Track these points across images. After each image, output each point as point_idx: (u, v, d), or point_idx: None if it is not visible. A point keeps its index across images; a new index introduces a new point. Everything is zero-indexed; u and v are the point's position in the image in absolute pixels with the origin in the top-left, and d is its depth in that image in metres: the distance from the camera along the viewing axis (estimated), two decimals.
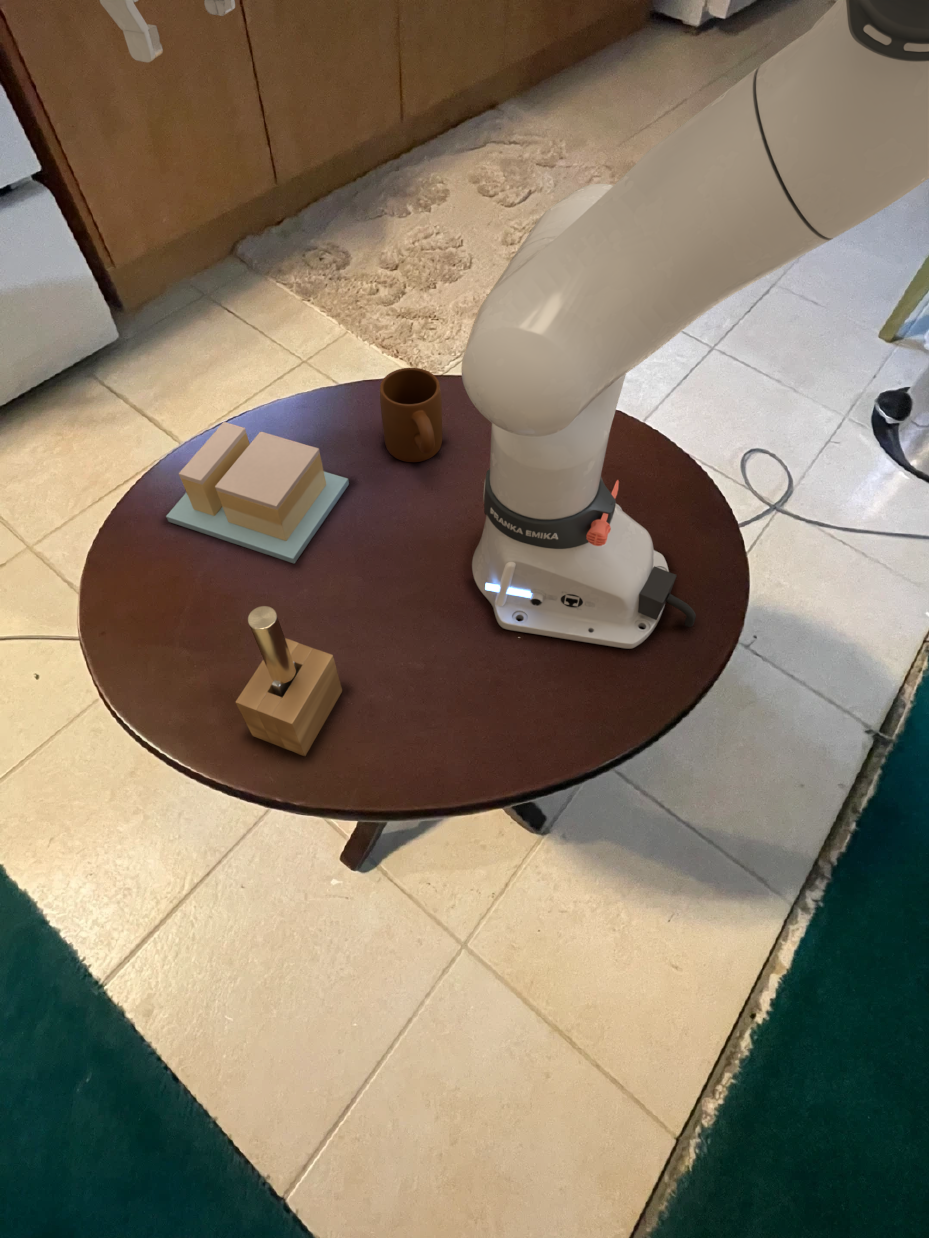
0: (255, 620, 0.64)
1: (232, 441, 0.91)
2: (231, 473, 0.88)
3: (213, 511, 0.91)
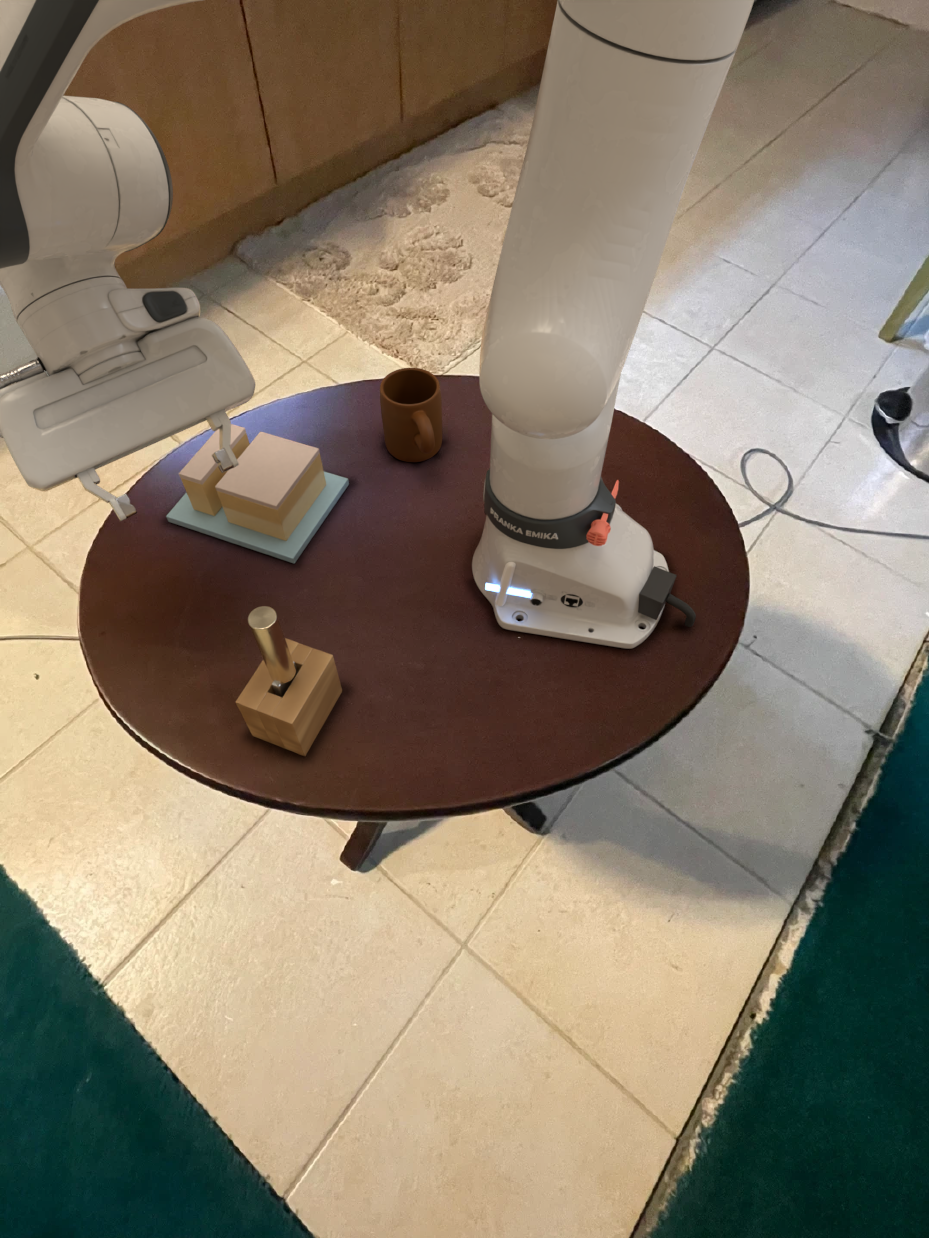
0: (255, 620, 0.64)
1: (232, 441, 0.91)
2: (231, 473, 0.88)
3: (213, 511, 0.91)
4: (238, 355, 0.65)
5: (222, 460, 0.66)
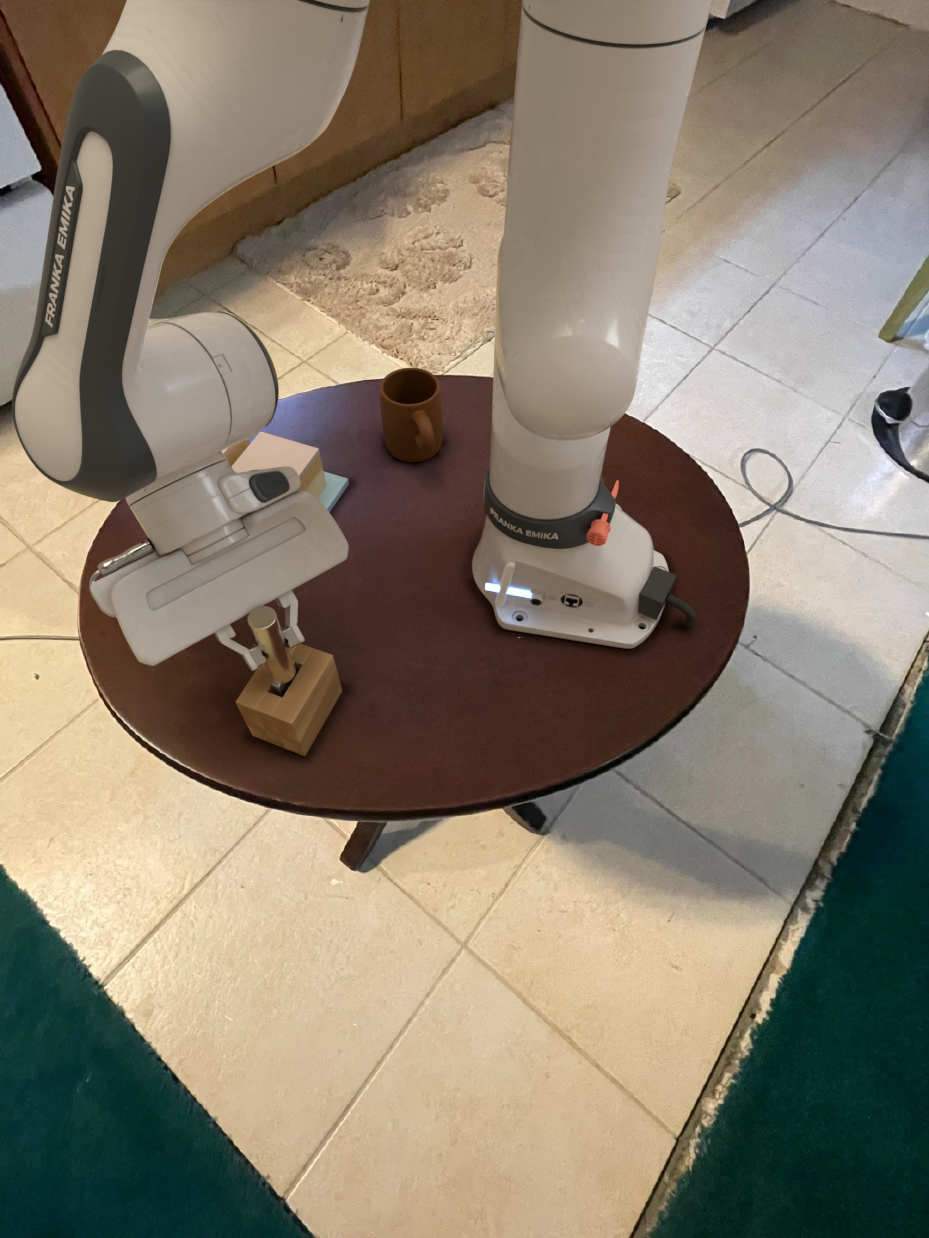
0: (255, 620, 0.64)
1: None
2: None
3: None
4: (334, 523, 0.67)
5: (289, 638, 0.67)
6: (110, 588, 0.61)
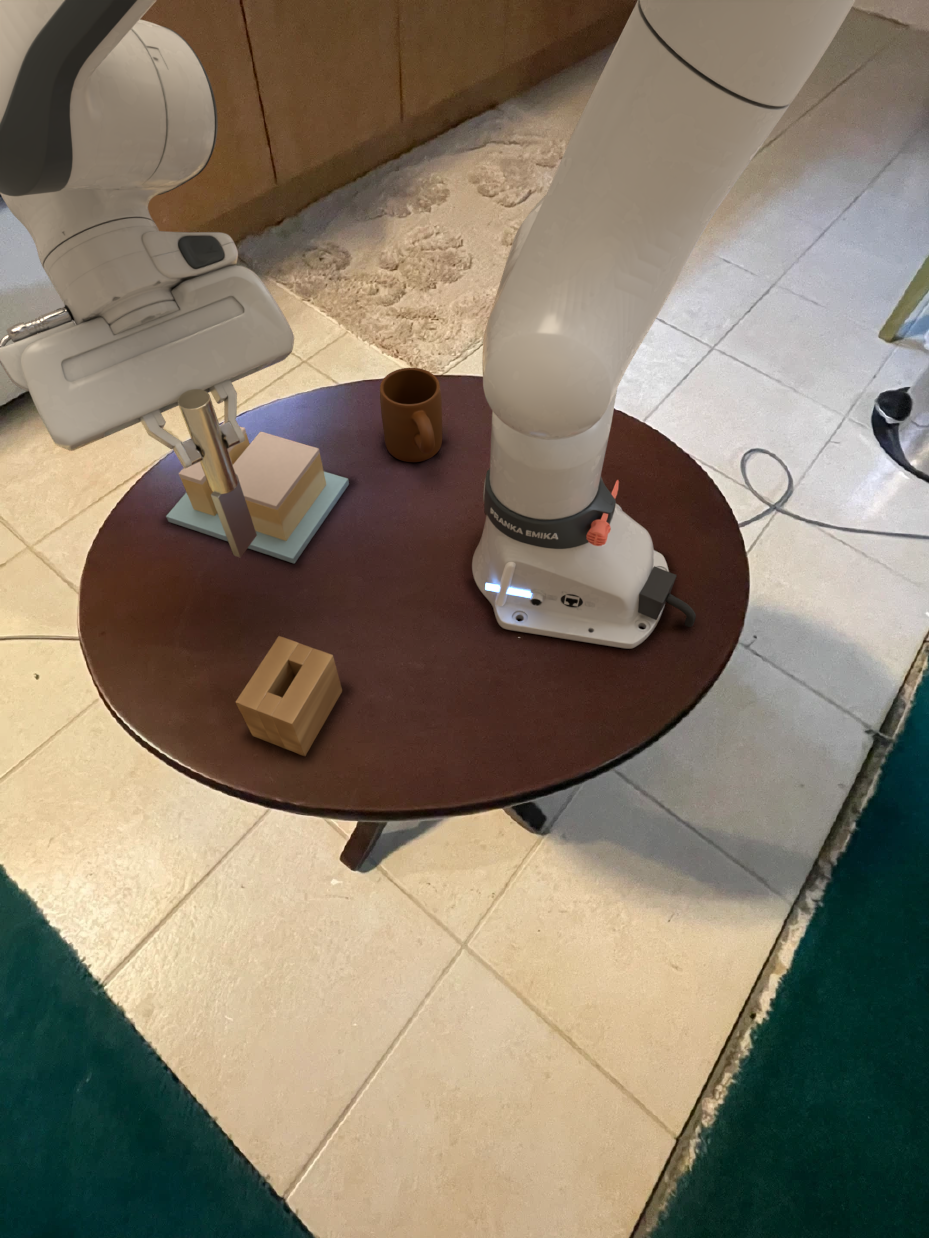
0: (186, 401, 0.57)
1: None
2: None
3: (213, 511, 0.91)
4: (277, 307, 0.61)
5: (227, 434, 0.61)
6: (21, 356, 0.55)
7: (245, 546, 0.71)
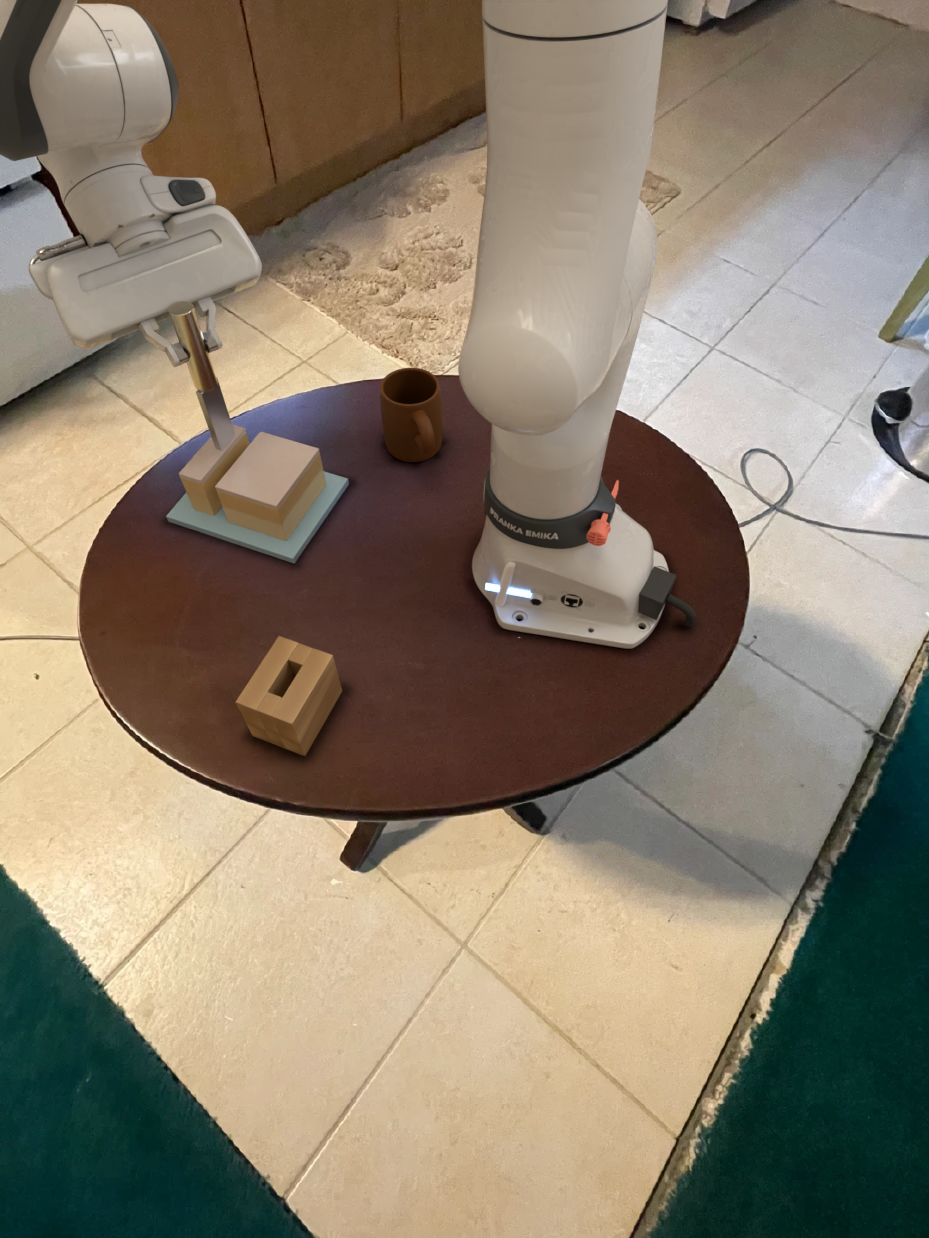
0: (174, 309, 0.74)
1: (232, 441, 0.91)
2: (231, 473, 0.88)
3: (213, 511, 0.91)
4: (247, 239, 0.77)
5: (208, 340, 0.77)
6: (47, 271, 0.71)
7: (225, 441, 0.87)
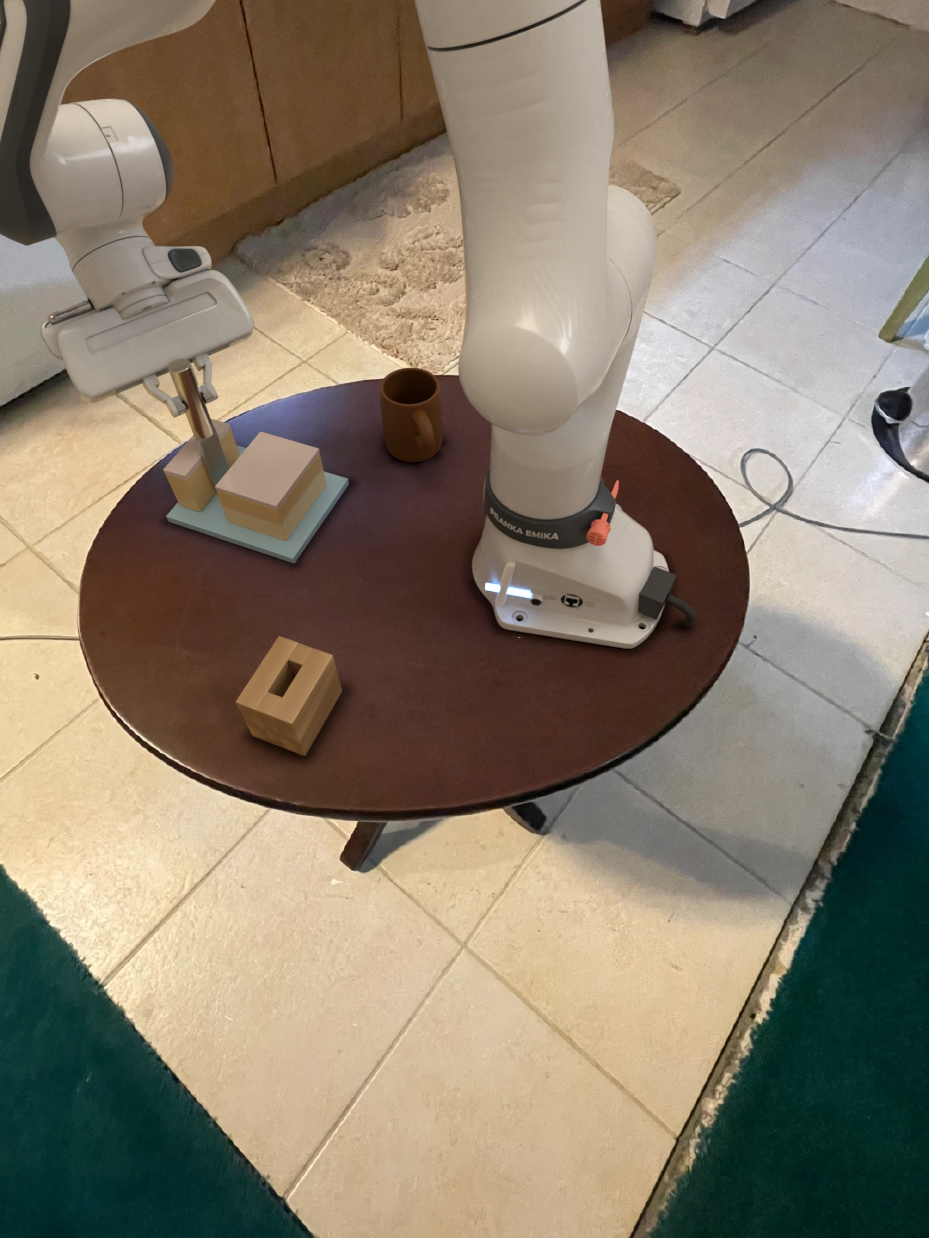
0: (173, 367, 0.80)
1: None
2: (231, 473, 0.88)
3: (199, 507, 0.92)
4: (241, 300, 0.84)
5: (205, 393, 0.84)
6: (57, 334, 0.78)
7: None
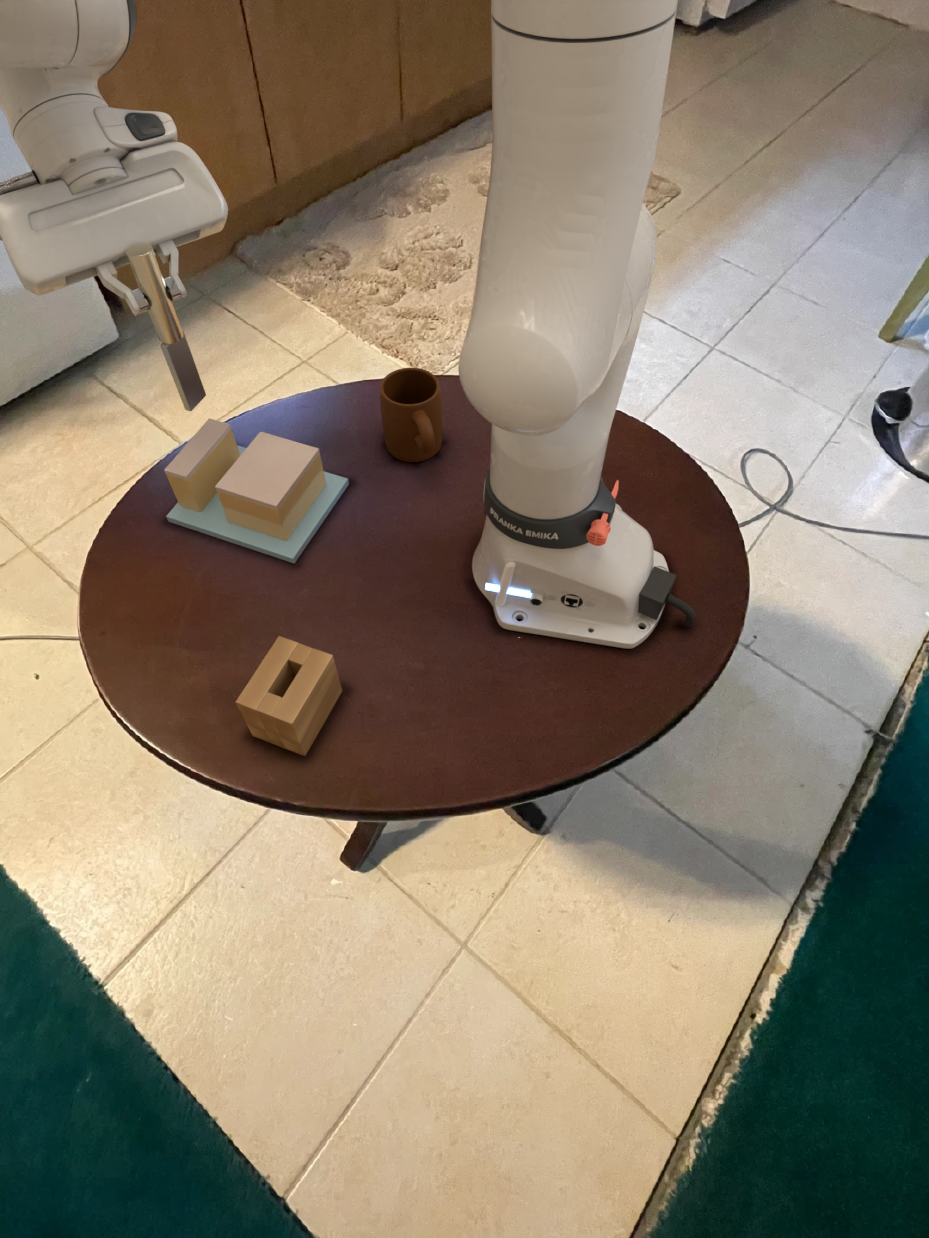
0: (132, 251, 0.69)
1: (217, 437, 0.91)
2: (231, 473, 0.88)
3: (199, 507, 0.92)
4: (212, 179, 0.73)
5: (170, 287, 0.73)
6: None
7: (195, 402, 0.82)
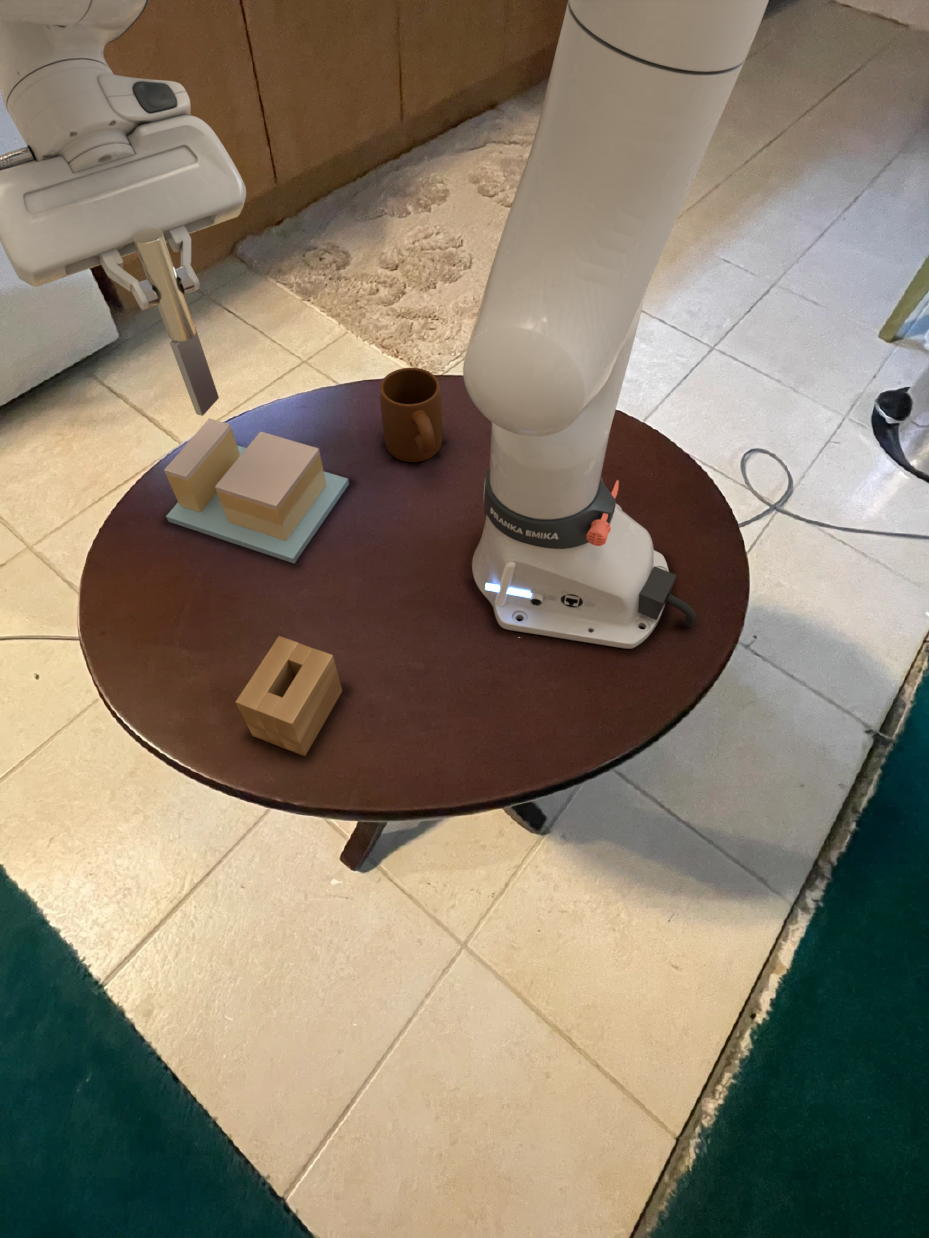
0: (140, 237, 0.62)
1: (217, 437, 0.91)
2: (231, 473, 0.88)
3: (199, 507, 0.92)
4: (229, 158, 0.65)
5: (182, 278, 0.65)
6: None
7: (206, 405, 0.75)
